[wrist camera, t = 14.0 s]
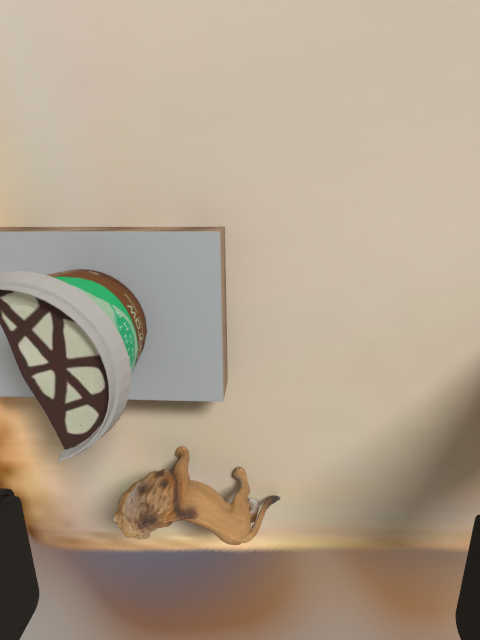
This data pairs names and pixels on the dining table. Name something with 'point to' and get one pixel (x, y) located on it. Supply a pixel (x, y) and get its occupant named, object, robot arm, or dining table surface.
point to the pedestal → (141, 299)
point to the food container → (74, 347)
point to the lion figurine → (188, 505)
